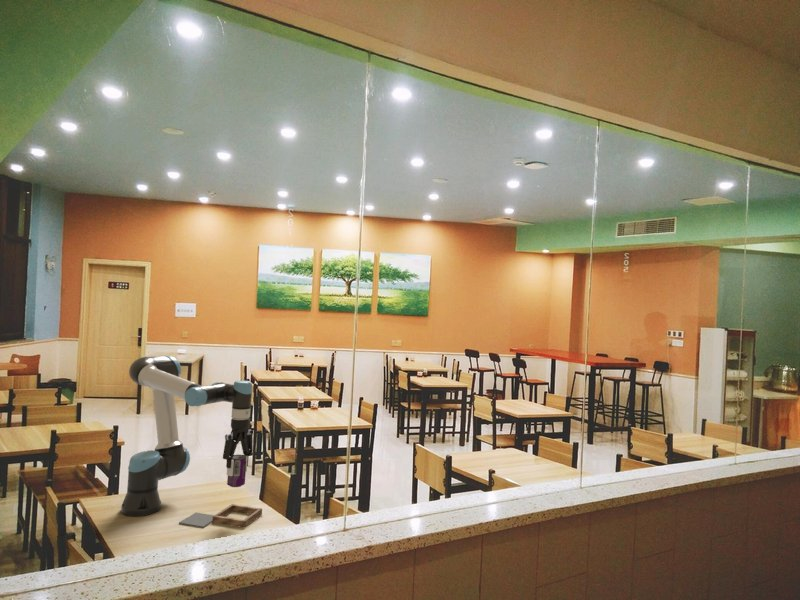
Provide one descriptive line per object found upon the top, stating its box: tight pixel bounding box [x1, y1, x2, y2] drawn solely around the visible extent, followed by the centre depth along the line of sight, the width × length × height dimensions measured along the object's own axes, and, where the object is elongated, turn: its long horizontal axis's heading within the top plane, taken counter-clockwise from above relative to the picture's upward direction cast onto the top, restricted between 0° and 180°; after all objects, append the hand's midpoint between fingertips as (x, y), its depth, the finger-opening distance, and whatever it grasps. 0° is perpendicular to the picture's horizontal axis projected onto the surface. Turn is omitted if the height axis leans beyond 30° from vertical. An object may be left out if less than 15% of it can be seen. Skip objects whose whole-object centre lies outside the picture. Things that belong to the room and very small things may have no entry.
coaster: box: [178, 512, 215, 529], centre depth 209 cm, size 11×11×1 cm
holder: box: [211, 503, 263, 528], centre depth 213 cm, size 14×14×2 cm
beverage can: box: [226, 454, 247, 488], centre depth 214 cm, size 7×7×12 cm
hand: (236, 473), depth 214 cm, fingers closed on beverage can, 7 cm apart
